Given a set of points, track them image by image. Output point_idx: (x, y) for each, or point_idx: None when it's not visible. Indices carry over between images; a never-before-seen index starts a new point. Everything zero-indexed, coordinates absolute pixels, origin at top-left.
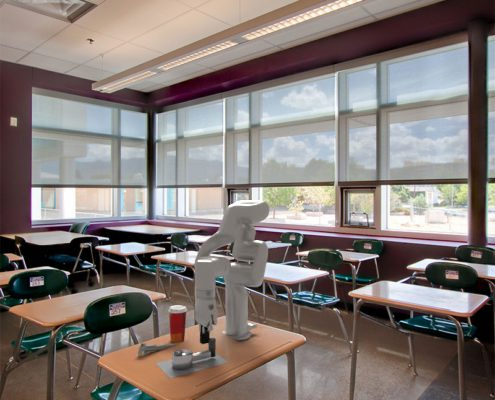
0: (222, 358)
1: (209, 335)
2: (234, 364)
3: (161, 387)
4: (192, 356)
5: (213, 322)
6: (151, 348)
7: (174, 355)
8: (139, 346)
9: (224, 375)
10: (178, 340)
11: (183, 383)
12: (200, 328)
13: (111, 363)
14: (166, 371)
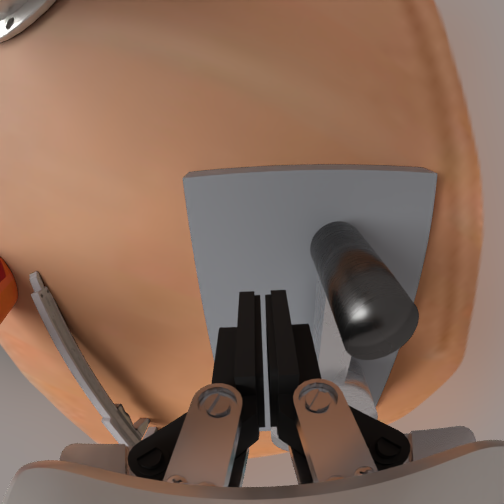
0: (373, 176)
1: (292, 338)
2: (419, 121)
3: None
4: (361, 393)
5: (445, 497)
6: (125, 429)
7: None
8: None
9: (468, 236)
10: (10, 293)
11: (400, 377)
12: (238, 468)
13: None
14: None
